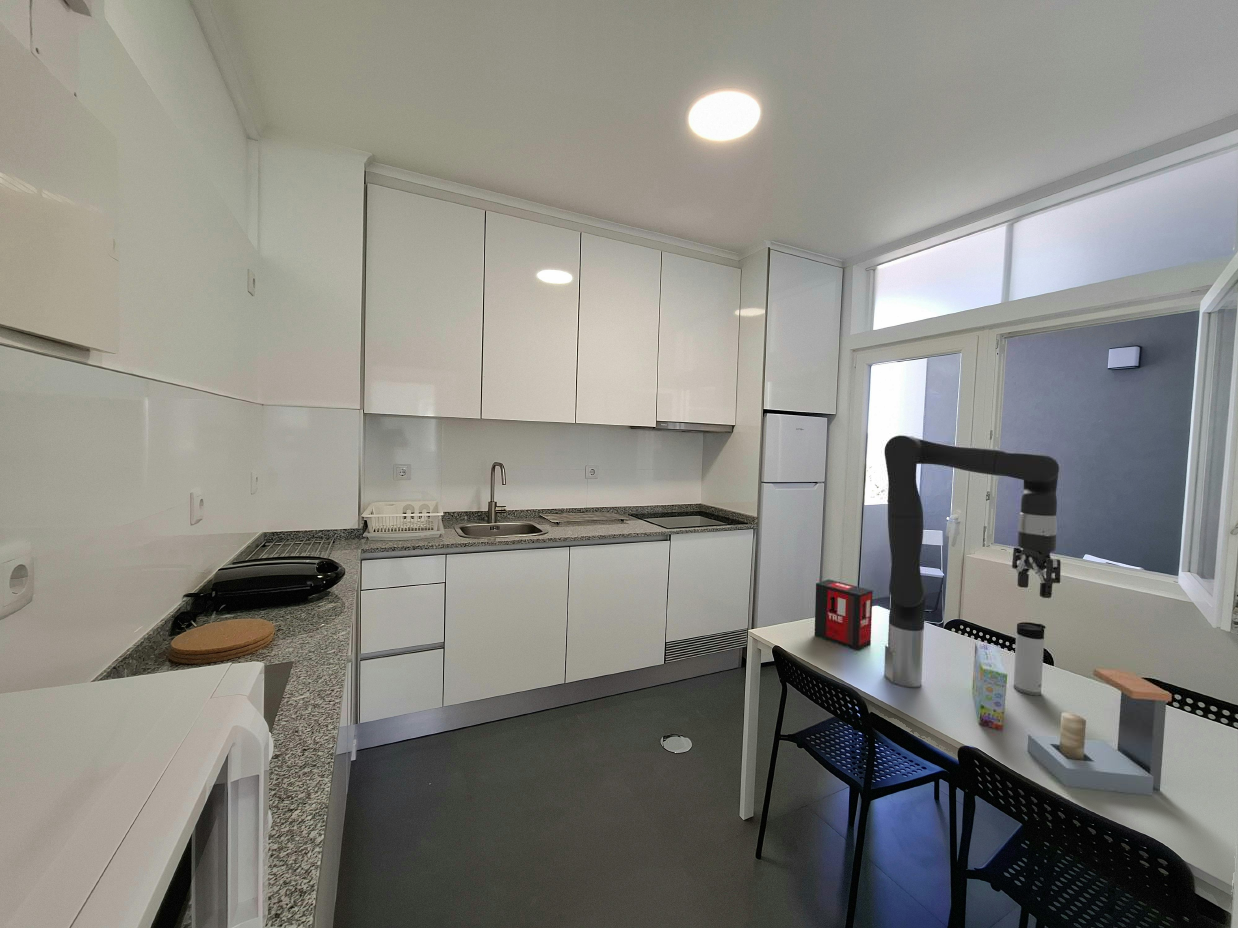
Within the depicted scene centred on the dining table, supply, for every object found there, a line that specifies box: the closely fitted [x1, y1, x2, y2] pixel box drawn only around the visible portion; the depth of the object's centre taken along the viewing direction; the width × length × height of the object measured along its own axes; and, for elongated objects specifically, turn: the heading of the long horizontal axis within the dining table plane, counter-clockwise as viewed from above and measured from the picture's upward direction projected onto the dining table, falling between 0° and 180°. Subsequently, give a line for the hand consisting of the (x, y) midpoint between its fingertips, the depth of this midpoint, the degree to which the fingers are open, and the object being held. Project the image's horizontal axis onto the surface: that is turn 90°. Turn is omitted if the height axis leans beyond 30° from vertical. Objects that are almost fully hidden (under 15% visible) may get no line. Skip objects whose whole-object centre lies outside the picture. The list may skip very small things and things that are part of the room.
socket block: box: [1026, 733, 1154, 796], centre depth 107 cm, size 16×12×4 cm
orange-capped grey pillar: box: [1092, 668, 1173, 791], centre depth 106 cm, size 7×10×22 cm
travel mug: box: [1012, 621, 1046, 696], centre depth 142 cm, size 6×7×20 cm
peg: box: [1059, 712, 1087, 761], centre depth 108 cm, size 4×4×12 cm
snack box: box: [971, 641, 1008, 731], centre depth 132 cm, size 21×6×15 cm, turn 148°
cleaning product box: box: [814, 579, 873, 652], centre depth 176 cm, size 16×9×20 cm, turn 37°
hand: (1033, 592), depth 126 cm, fingers open, 8 cm apart
